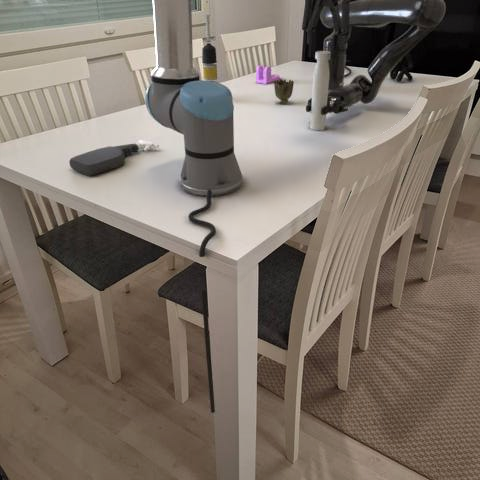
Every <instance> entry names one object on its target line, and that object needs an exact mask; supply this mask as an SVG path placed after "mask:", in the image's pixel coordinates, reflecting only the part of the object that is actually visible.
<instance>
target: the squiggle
mask: <svg viewBox="0 0 480 480" xmlns="http://www.w3.org/2000/svg"><path fill="white" fill-rule="evenodd" d="M406 62H407V65H408V66H407V67H405V66H404V65H405V64H406ZM413 68H414V64H413V61H412V57H411V54H410V53H409V52H408V53H407V54H406V55H405V56H404V57H403V58H402V59H401V60H400V61H399V62H398V63H397V64H396V66H395V67H394V68H393V69H392V70H391V72H390V73H389V78H390V79H391V80H395V79H396V81H397V82H399V83H400V82H402V81H403V79H404V76H406V78H407V80H408V81H412V80H413V79H414V77H413V75H412V74H411V73H410V72H409V71H410V70H412V69H413ZM400 70H401V71H400Z"/></svg>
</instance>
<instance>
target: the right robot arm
mask: <svg viewBox="0 0 480 480" xmlns="http://www.w3.org/2000/svg"><path fill="white" fill-rule="evenodd" d="M338 4H339V13H340V18H341V23H342V0H338ZM446 9H447V6H446V2H445V1H444V0H354V1H350V3H349V32H347V33H344V34H343V35H342V42H341V47H338V56H337V59H334V60H332V59H331V57H330V59H329V60H328V63H329V71H330V72H329V74H330V75H329V86H328V98H327V106H325V107H322V108H321V115H325V114H326V115H327V114H333V113H334V114H336V115H337V114H341V113H345V112H348V111H349V109H350V108H351V107H352V106H353V105H356V104H357V103H359V102H361V103H362V104H364V105H369V104H371V103H372V102H373V101H374V100H375V99H376V97H377V96H378V95H379V94H378V93H379V92H380V89H381V87H382V85H383V83H384V81H385V79H386V78H387V77H388V76H389V75H390V72H391V70H392V69H393V68H394V67H395V66H396V64H397V63H398V62H399V61H400V62H401V61H402V60H403V57H404V56H405V55H406V54H407V53H409V52H410V51H411V50H412V49H413V48H414V47H415V46H417V44H418V43H419V42H421V41H422V40H423V39H424V38H425V37H426V36H427V35H428V34H429V33H430V32H432V31H433V30H434V29H435V28H436V27H437V26H438V25H439V24H440V23H441V21H442V20H443V18H444V17H445V14H446ZM319 19H320V21H321V23H322V25H323V26H325V27H326V28H327V29H333V31H332V33H330V35H328V36H326V37H325V38H324V40H323V50H322V51H329V52H332V40H333V35H335V34H336V33H335V28H334V24H333V19H332V14H331V10H330V9H329V7H327V6H324V8H323V9H322V11H321V14H320V17H319ZM391 23H396V24H397V23H399V24H406V25H409V26H410V27H409V28H408V30H406V31H405V32H404V33H403V34H401V36H399V37H398V38H397V39H395V40H393V41H392V42H390V43H389V44H387V45H386V46H385V47H384V48H382V50H380V52H379V53H378V54H377V55H376V57H375V58H374V60H372V62H371V63H370V65H369V66H368V67H367V73H368V75H369V78H370V79H369V78H368V77H367V76H366V75H363V74H357V75H356V76H355V77H354V78H352V80H351V81H350V82H349V84H346V85H344V83H345V82H344V81H345V78H346V77H348V76H350V75H351V74H352V69H351V68H349V67H348V66H346V63H348V64H352V62H351V60H350V59H347V50H348V42H349V40H350V37H351V32H352V27H355V28H357V27H358V28H370V29H371V28H382V27H385V26H387V25H389V24H391ZM345 70H348V73H346V74H345ZM311 105H312V97H310V98H309V99H308V100H307V104H306V105H305V112H306V113H311Z"/></svg>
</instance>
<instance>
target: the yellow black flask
mask: <svg viewBox="0 0 480 480" xmlns="http://www.w3.org/2000/svg"><path fill="white" fill-rule="evenodd" d="M210 17H211V14H204V18H205V27H206V29H205V30H206V31H205V33H206V39H207V40H206V42H207V43H206V45H204V46H202V49H201V50H202V51H201V52H202V54H201V55H202V57H201V58H202V61H201V63H202V71H203V72H202V73H203V74H202V75H203V81H209V82H217V83H219V82H218V81H216V80H218V64H216V63H218V61H217V48H216V47H215V46H214V45H212V43H210V42H211V40H210V39H211V31H210V29H211V28H210Z"/></svg>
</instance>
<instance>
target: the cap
mask: <svg viewBox="0 0 480 480" xmlns="http://www.w3.org/2000/svg"><path fill="white" fill-rule="evenodd" d="M330 57H331V52H329V51H323V50H317V51H315V56H314V60H316V61H317V60H329V59H330Z"/></svg>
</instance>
